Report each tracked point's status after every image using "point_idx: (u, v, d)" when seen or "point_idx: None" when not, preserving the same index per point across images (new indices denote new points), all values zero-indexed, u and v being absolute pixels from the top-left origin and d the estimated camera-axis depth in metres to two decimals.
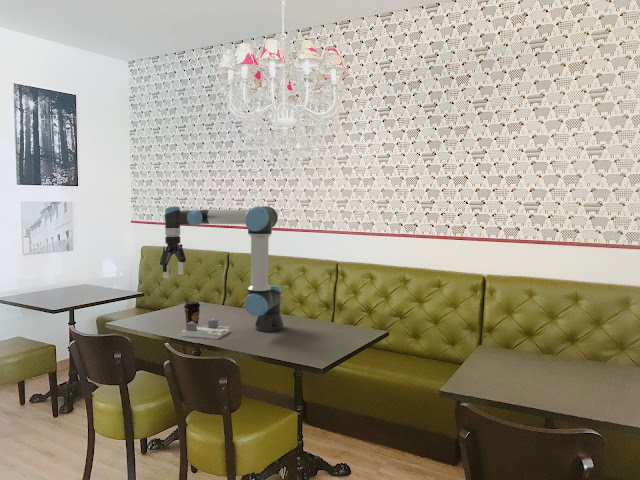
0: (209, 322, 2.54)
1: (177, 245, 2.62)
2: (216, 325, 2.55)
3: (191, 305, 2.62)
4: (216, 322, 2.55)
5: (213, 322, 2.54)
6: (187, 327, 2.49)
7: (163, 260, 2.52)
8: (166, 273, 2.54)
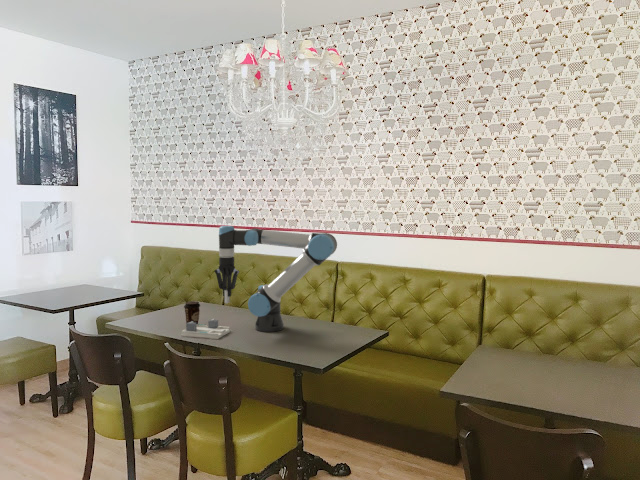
0: (209, 322, 2.54)
1: (231, 266, 2.49)
2: (216, 325, 2.55)
3: (191, 305, 2.62)
4: (216, 322, 2.55)
5: (213, 322, 2.54)
6: (187, 327, 2.49)
7: None
8: None
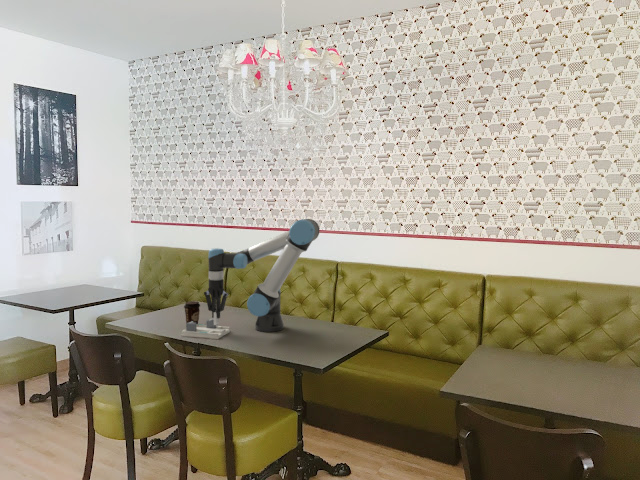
0: (207, 322, 2.55)
1: (220, 289, 2.52)
2: (214, 325, 2.55)
3: (191, 305, 2.62)
4: None
5: (211, 322, 2.54)
6: (187, 327, 2.49)
7: None
8: None
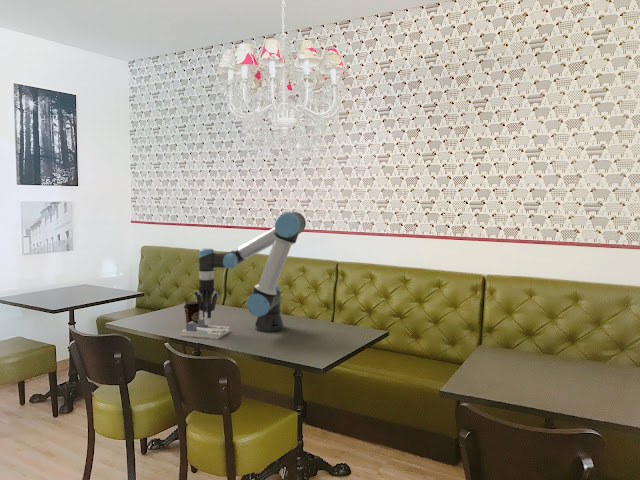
0: (198, 321, 2.56)
1: (210, 289, 2.53)
2: None
3: (191, 305, 2.62)
4: None
5: (202, 321, 2.55)
6: (187, 327, 2.49)
7: None
8: None
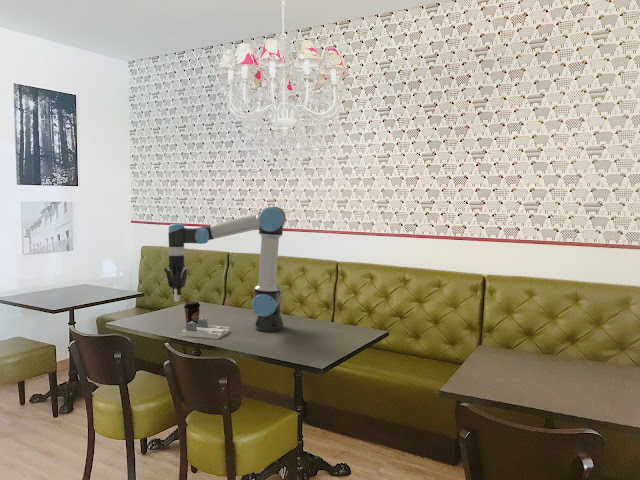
0: (198, 321, 2.56)
1: (180, 265, 2.48)
2: (205, 324, 2.56)
3: (191, 305, 2.62)
4: (205, 321, 2.56)
5: (202, 321, 2.55)
6: (187, 327, 2.49)
7: None
8: None
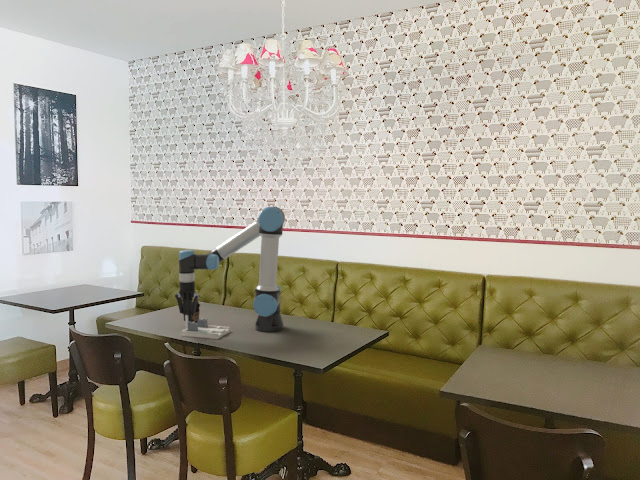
0: (198, 321, 2.56)
1: (191, 291, 2.47)
2: (205, 324, 2.56)
3: None
4: (205, 321, 2.56)
5: (202, 321, 2.55)
6: (188, 327, 2.49)
7: None
8: None
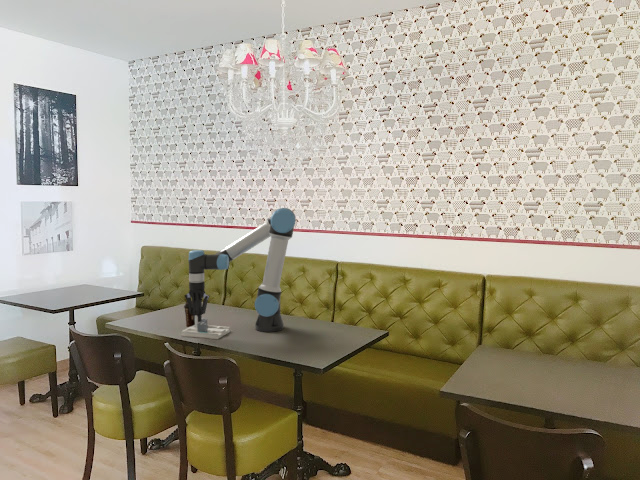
0: None
1: (201, 291, 2.46)
2: None
3: None
4: (205, 321, 2.56)
5: (202, 321, 2.55)
6: (198, 328, 2.47)
7: None
8: None
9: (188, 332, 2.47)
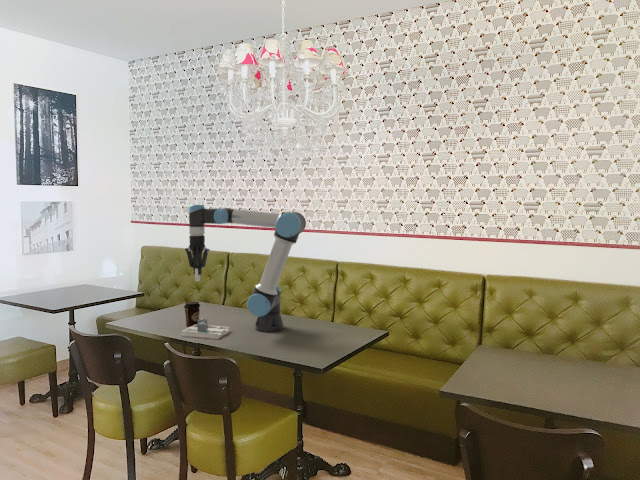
0: (198, 321, 2.56)
1: (201, 245, 2.52)
2: None
3: (191, 305, 2.62)
4: (205, 321, 2.56)
5: (202, 321, 2.55)
6: (198, 328, 2.47)
7: None
8: None
9: (188, 332, 2.47)
